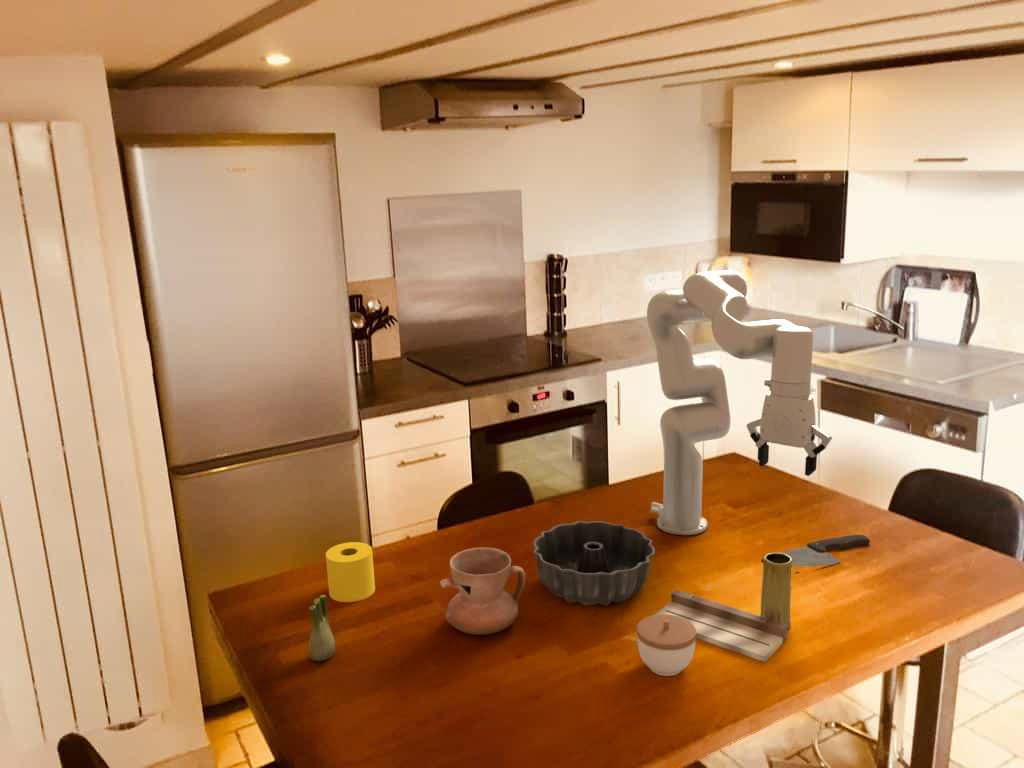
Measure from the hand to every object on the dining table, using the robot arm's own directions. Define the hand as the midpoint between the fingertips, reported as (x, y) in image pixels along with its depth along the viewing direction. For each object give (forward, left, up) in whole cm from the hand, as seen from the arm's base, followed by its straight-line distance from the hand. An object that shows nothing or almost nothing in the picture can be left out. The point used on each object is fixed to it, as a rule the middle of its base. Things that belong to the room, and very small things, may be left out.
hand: (786, 469), depth 176 cm
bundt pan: (-34, -20, -29) cm, 49 cm away
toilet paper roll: (-76, -53, -29) cm, 97 cm away
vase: (+4, -12, -28) cm, 31 cm away
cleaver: (0, +23, -29) cm, 37 cm away
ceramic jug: (-43, -46, -29) cm, 69 cm away
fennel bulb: (-60, -74, -28) cm, 99 cm away
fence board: (-4, -21, -28) cm, 35 cm away
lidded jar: (-6, -38, -28) cm, 48 cm away
